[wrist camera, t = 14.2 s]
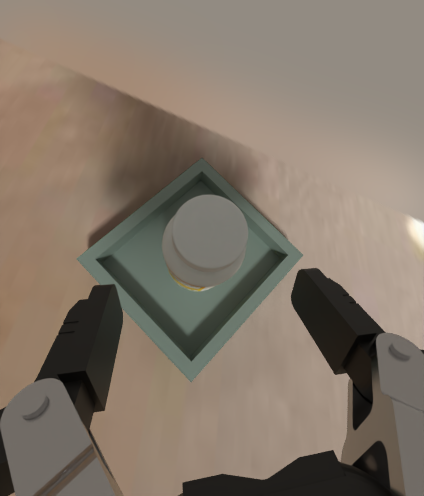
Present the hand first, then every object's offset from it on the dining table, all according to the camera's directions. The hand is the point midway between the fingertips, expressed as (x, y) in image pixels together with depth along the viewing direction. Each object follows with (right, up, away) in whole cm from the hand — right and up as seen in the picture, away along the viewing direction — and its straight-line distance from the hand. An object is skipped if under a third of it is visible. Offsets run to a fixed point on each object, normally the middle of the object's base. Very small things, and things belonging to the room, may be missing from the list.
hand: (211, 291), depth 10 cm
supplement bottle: (-1, +1, +11) cm, 11 cm away
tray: (-1, +1, +12) cm, 12 cm away
